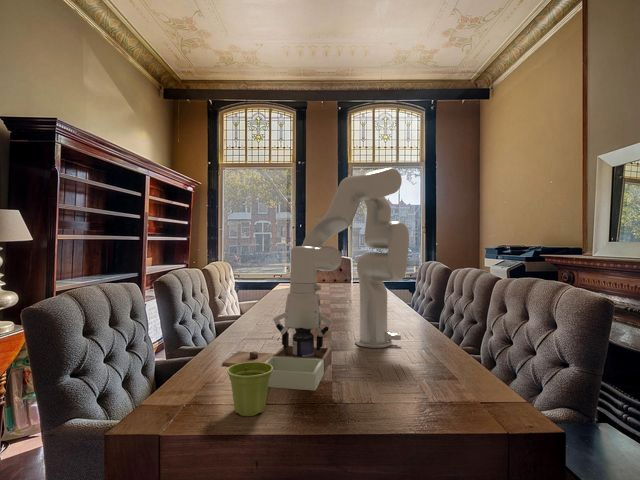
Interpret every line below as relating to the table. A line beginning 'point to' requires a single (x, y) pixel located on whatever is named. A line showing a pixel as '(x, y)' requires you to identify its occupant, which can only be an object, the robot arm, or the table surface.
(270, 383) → the sage box
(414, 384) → the table surface
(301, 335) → the pill bottle
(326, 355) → the walnut box
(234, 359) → the walnut lid
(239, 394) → the plant pot
